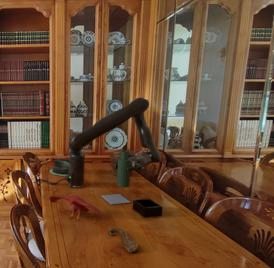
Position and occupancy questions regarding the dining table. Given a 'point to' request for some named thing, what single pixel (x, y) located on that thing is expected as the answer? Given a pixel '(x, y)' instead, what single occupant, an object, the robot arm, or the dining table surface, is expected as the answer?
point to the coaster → (115, 199)
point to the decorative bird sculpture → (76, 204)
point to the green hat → (60, 167)
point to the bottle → (123, 170)
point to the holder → (147, 207)
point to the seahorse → (125, 240)
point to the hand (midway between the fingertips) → (121, 168)
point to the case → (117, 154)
